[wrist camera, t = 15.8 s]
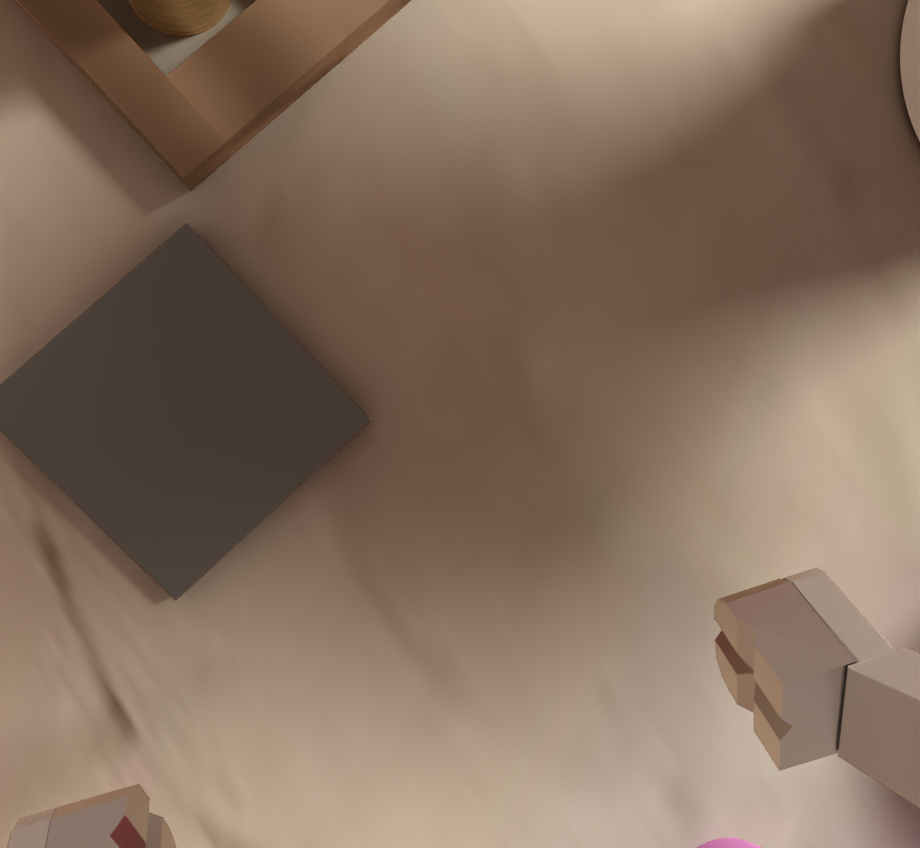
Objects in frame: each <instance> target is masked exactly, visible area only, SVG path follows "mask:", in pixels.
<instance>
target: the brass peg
mask: <svg viewBox="0 0 920 848" xmlns="http://www.w3.org/2000/svg"><path fill="white" fill-rule="evenodd" d="M128 1H129V3H130V5H131V7H132V8H133V10H134V11H135V12H136V14H137V15H138V16H139V17H140V18H141V19H142V20H143V21H144V22H146V23H147V24H148V25H149V26H151V27H153V28H154V29H156V30H159V31H161V32H163V33H166V34H170V35H176V36H191V35H196V34H199V33H202V32H205V31H207V30H208V29H210V28H212V27H213V26H214V25H216V24H217V23H218V22H219V21H220V20H221V19H222V17H223V16H224V15H225V13H226V12H227V10H228V8H229V5H230V3H231V0H128Z"/></svg>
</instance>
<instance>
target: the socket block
mask: <svg viewBox="0 0 920 848" xmlns="http://www.w3.org/2000/svg"><path fill="white" fill-rule="evenodd" d="M15 1H16V2H17V3H18V4H19V5H20V7H21V8H22V9H23V10H24V11H25V12H26V13H27V14H28V15H29V16H30V17H31V18H32V19H33V21H34V22H35V23H36V24H37V25H38V26H39V27H40V28H41V29H42V30H43V31H44V32H45V34H46V35H47V36H48V37H49V38H50V39H51V40H52V41H53V42H54V43H55V44H56V45H57V46H58V48H59V49H60V50H61V51H62V52H63V53H64V54H65V55H66V56H67V57H68V58H69V59H70V60H71V62H72V63H73V64H74V65H75V66H76V67H77V68H78V69H79V70H80V71H81V72H82V73H83V75H84V76H85V77H86V78H87V79H88V80H89V81H90V82H91V83H92V84H93V85H94V86H95V87H96V89H97V90H98V91H99V92H100V93H101V94H102V95H103V96H104V97H105V98H106V99H107V100H108V101H109V103H110V104H111V105H112V106H113V107H114V108H115V109H116V110H117V111H118V112H119V113H120V114H121V116H122V117H123V118H124V119H125V120H126V121H127V122H128V123H129V124H130V125H131V126H132V127H133V128H134V130H135V131H136V132H137V133H138V134H139V135H140V136H141V137H142V138H143V139H144V140H145V141H146V142H147V144H148V145H149V146H150V147H151V148H152V149H153V150H154V151H155V152H156V153H157V154H158V155H159V157H160V158H161V159H162V160H163V161H164V162H165V163H166V164H167V165H168V166H169V167H170V168H171V169H172V171H173V172H174V173H175V174H176V175H177V176H178V177H179V178H180V179H181V180H182V181H183V182H184V183H185V185H186V186H187V187H188V188H189V189H190V190H191V191H192V190H193V189H194V188H195V187H196V186H197V185H199V184H200V183H201V182H202V181H203V180H204V179H206V178H207V177H208V176H209V175H210V174H211V173H212V172H214V171H215V170H216V169H217V168H218V167H219V166H221V165H222V164H223V163H224V162H225V161H226V160H227V159H229V158H230V157H231V156H232V155H233V154H234V153H236V152H237V151H238V150H239V149H240V148H241V147H243V146H244V145H245V144H246V143H247V142H248V141H249V140H251V139H252V138H253V137H254V136H255V135H256V134H258V133H259V132H260V131H261V130H262V129H263V128H264V127H266V126H267V125H268V124H269V123H270V122H271V121H273V120H274V119H275V118H276V117H277V116H278V115H279V114H281V113H282V112H283V111H284V110H285V109H286V108H288V107H289V106H290V105H291V104H292V103H293V102H294V101H296V100H297V99H298V98H299V97H300V96H301V95H303V94H304V93H305V92H306V91H307V90H308V89H309V88H311V87H312V86H313V85H314V84H315V83H316V82H318V81H319V80H320V79H321V78H322V77H323V76H324V75H326V74H327V73H328V72H329V71H330V70H331V69H333V68H334V67H335V66H336V65H337V64H338V63H339V62H341V61H342V60H343V59H344V58H345V57H346V56H348V55H349V54H350V53H351V52H352V51H353V50H354V49H356V48H357V47H358V46H359V45H360V44H361V43H363V42H364V41H365V40H366V39H367V38H368V37H370V36H371V35H372V34H373V33H374V32H375V31H376V30H378V29H379V28H380V27H381V26H382V25H383V24H385V23H386V22H387V21H388V20H389V19H390V18H391V17H393V16H394V15H395V14H396V13H397V12H398V11H400V10H401V9H402V8H403V7H404V6H405V5H406V4H408V3H409V2H410V1H411V0H256V1H255V2H254V3H253V4H251V5H250V6H249V7H248V8H247V9H245V10H244V11H243V12H242V13H241V14H240V15H238V16H237V17H236V18H235V19H234V20H232V21H231V22H230V23H229V24H228V25H227V26H225V27H224V28H223V29H222V30H221V31H219V32H218V33H217V34H216V35H215V36H214V37H212V38H211V39H210V40H209V41H208V42H206V43H205V44H204V45H203V46H202V47H200V48H199V49H198V50H197V51H196V52H195V53H193V54H192V55H191V56H190V57H189V58H187V59H186V60H185V61H184V62H183V63H182V64H180V65H179V66H178V67H177V68H176V69H174V70H173V71H172V72H171V73H170V74H169V75H167V76H165V75H164V74H163V72H162V71H161V70H160V69H159V68H158V67H157V66H156V65H155V64H154V63H153V61H152V60H151V59H150V58H149V57H148V56H147V55H146V54H145V53H144V52H143V50H142V49H141V48H140V47H139V46H138V45H137V44H136V43H135V42H134V41H133V39H132V38H131V37H130V36H129V35H128V34H127V33H126V32H125V31H124V30H123V28H122V27H121V26H120V25H119V24H118V23H117V22H116V21H115V20H114V19H113V17H112V16H111V15H110V14H109V13H108V12H107V11H106V10H105V9H104V8H103V6H102V5H101V4H100V3H99V2H98V1H97V0H15Z"/></svg>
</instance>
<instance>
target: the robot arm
mask: <svg viewBox="0 0 920 848" xmlns="http://www.w3.org/2000/svg"><path fill="white" fill-rule="evenodd" d="M900 70H901V80H902V87H903V93H904V98H905V102H906V107H907V110H908V113H909V117H910V120H911V122H912V125H913V128H914V130H915V132H916V135H917V137H918V139H919V141H920V0H908V3H907V7H906V12H905V16H904V21H903V27H902V34H901V44H900ZM714 619H715V620H716V622H717V623H718V625H719V626H720V628H721V629H722V631H721V632H720V633H719V635H718V636H717V638H716V639H715V649H716V658H717V661H718V665H719V668H720V672H721V675H722V677H723V679H724V681H725V683H726V686H727V688H728V690H729V691H730V693H731V695H732V696H733V698H734V700H735V701H736V703H737V704H738V705H740V706H742V707H744V708H746V709H748V710H750V711H751V712H753V713H754V732H755V733H756V735H757V737H758V738H759V740H760V741H761V743H762V744H763V746H764V748H765V749H766V751H767V752H768V754H769V755H770V757H771V759H772V760H773V762H774V763H775V765H776V766H777V768H778V770H779V771H780V770H783V769H787V768H790V767H793V766H796V765H800V764H803V763H806V762H810V761H813V760H816V759H819V758H823V757H826V756H829V755H832V754H836V753H838V756H839V757H840V758H842V759H843V760H845V761H846V762H848V763H849V764H851V765H853V766H854V767H856V768H857V769H859V770H860V771H862V772H864V773H865V774H867V775H868V776H870V777H871V778H873V779H875V780H876V781H878V782H879V783H881V784H882V785H884V786H886V787H887V788H889V789H890V790H892V791H893V792H895V793H896V794H898V795H900V796H901V797H903V798H904V799H906V800H907V801H909V802H911V803H912V804H914V805H915V806H917V807H918V808H920V654H919V653H917V652H914V651H912V650H910V649H907V648H902V649H898V650H894V649H893V648H892V647H891V645H890V644H889V643H888V642H887V641H886V640H885V639H884V638H883V636H882V635H881V634H880V633H879V632H878V631H877V630H876V628H875V627H874V626H873V625H872V624H871V623H870V622H869V621H868V619H867V618H866V617H865V616H864V615H863V614H862V613H861V612H860V610H859V609H858V608H857V607H856V606H855V605H854V604H853V603H852V601H851V600H850V599H849V598H848V597H847V596H846V595H845V593H844V592H843V591H842V590H841V589H840V588H839V587H838V586H837V584H836V583H835V582H834V581H833V580H832V579H831V578H830V577H829V575H828V574H827V573H826V572H825V571H823V570H821V569H819V568H814V569H811V570H808V571H805V572H801V573H798V574H795V575H792V576H789V577H786V578H783V579H777V580H774V581H771V582H768V583H765V584H762V585H759V586H756V587H753V588H750V589H747V590H744V591H741V592H738V593H735V594H732V595H729V596H726V597H723V598H720V599H717V601H716V603H715V605H714ZM149 800H150V798H149V796H148V795H147V794H146V793H145V791H144V790H143V789H142V787H141V786H140V785H139V784H137V785H133V786H130V787H126V788H123V789H119V790H116V791H112V792H109V793H105V794H102V795H98V796H95V797H91V798H88V799H84V800H81V801H77V802H74V803H71V804H67V805H64V806H60V807H57V808H54V809H50V810H47V811H44V812H41V813H37V814H34V815H31V816H27V817H24V818H21V819H19V820H18V822H17V823H16V825H15V827H14V828H13V830H12V832H11V834H10V838H9V842H8V846H7V848H176V844H175V841H174V838H173V835H172V833H171V830H170V828H169V826H168V824H167V823H166V821H165V820H164V818H163V817H161V816H158V815H155V814H152V813H149Z"/></svg>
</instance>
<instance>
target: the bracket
mask: <svg viewBox="0 0 920 848" xmlns="http://www.w3.org/2000/svg"><path fill="white" fill-rule="evenodd" d="M697 848H761V847H759V846H757V845H755V844H753V843H751V842H748V841H745V840H742V839H737V838H721V839H716V840H712V841H709V842H707V843H704V844H702V845H700V846H699V847H697Z"/></svg>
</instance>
